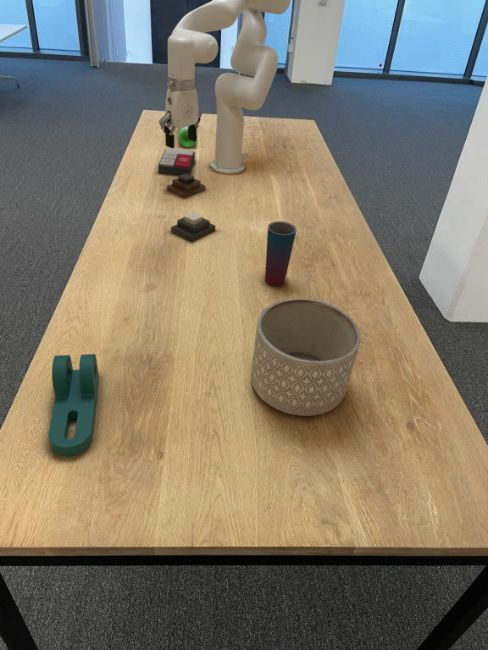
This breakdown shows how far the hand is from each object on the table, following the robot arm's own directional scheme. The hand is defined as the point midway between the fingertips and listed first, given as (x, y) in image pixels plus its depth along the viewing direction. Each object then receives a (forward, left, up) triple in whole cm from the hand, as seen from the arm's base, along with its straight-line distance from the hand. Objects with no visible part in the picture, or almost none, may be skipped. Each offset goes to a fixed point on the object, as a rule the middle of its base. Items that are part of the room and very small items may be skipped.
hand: (181, 143), depth 155 cm
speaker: (-37, -33, -16) cm, 52 cm away
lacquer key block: (+17, +21, -16) cm, 32 cm away
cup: (+21, +53, -16) cm, 60 cm away
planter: (+48, +78, -16) cm, 93 cm away
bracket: (+81, +53, -16) cm, 99 cm away
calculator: (-14, -16, -16) cm, 26 cm away
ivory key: (+17, +21, -13) cm, 30 cm away
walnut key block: (-2, 0, -16) cm, 16 cm away
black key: (-2, 0, -13) cm, 13 cm away
